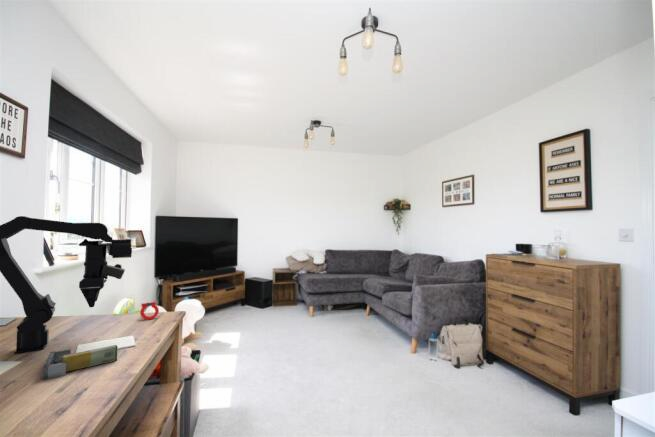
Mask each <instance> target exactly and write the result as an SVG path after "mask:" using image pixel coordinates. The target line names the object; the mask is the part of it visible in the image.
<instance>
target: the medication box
mask: <svg viewBox="0 0 655 437" xmlns="http://www.w3.org/2000/svg"><path fill="white" fill-rule="evenodd" d="M117 348H118V347H117V345H113V346H108V347H103V348H98V349H93V350H88V351H83V352H78V353H76V352H74V353H71V354H69V355H64V356H63V361H62V362H61V363H63V362H67V364H66V373H67V372H72V371H75V370H76V371H77V370H80V369H83V368H84V369H85V368H88V367H89V368H90V367H93V366H98V365H101V364H102V365H103V364H106V363H110V362H115V361H116V362H117V360H118V349H117Z"/></svg>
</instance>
